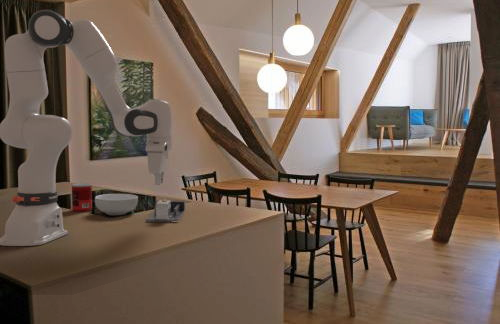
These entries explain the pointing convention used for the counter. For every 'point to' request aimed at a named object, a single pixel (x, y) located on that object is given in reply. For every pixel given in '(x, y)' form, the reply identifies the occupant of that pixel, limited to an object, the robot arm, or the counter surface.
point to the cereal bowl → (116, 203)
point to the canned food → (81, 197)
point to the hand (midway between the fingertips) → (159, 183)
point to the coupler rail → (176, 212)
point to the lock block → (163, 209)
